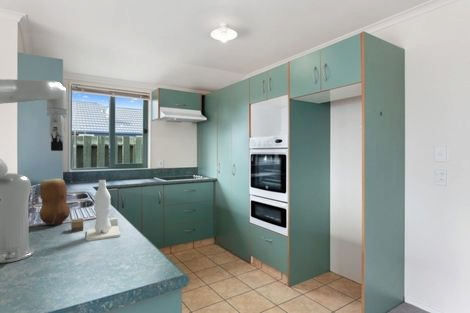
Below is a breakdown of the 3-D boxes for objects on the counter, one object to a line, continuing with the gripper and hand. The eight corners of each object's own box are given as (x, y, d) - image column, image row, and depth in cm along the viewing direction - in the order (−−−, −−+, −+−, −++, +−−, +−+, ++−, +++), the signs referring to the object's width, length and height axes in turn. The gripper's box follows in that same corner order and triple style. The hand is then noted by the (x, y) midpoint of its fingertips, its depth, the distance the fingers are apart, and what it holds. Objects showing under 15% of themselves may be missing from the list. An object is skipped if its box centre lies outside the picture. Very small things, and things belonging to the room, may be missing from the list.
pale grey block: (117, 226, 143) (117, 218, 143) (109, 227, 141) (109, 219, 141) (117, 224, 146) (117, 217, 146) (109, 225, 144) (108, 218, 144)
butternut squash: (50, 221, 152) (49, 177, 152) (74, 220, 153) (74, 177, 153) (33, 228, 139) (32, 180, 138) (60, 227, 140) (59, 179, 139)
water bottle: (92, 234, 125) (92, 181, 124) (96, 230, 132) (95, 179, 131) (109, 233, 127) (109, 180, 126) (112, 229, 134) (111, 179, 133)
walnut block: (83, 230, 135) (82, 220, 135) (71, 232, 133) (71, 222, 133) (83, 228, 139) (83, 218, 139) (72, 229, 137) (72, 219, 137)
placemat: (120, 236, 126) (120, 234, 126) (86, 241, 119) (86, 239, 119) (118, 227, 140) (117, 225, 140) (87, 231, 134) (87, 229, 134)
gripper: (63, 111, 116) (64, 150, 117) (68, 115, 132) (69, 150, 132) (42, 110, 113) (43, 150, 113) (50, 115, 129) (50, 150, 129)
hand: (57, 150), depth 123 cm, fingers open, 9 cm apart
